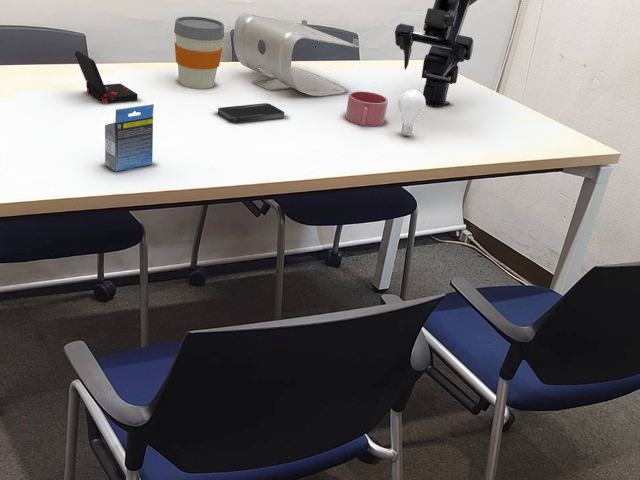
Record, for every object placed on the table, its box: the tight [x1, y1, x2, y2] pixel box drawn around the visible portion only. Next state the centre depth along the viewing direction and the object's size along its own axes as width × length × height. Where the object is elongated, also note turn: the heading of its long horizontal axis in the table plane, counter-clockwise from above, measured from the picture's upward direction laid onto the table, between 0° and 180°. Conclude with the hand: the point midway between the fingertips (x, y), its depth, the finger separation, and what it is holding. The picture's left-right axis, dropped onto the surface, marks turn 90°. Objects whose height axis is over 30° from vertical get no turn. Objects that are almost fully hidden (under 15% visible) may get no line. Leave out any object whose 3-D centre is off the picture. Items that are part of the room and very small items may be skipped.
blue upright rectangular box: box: [104, 103, 155, 173], centre depth 171 cm, size 9×4×12 cm, turn 133°
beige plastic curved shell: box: [233, 13, 360, 97], centre depth 233 cm, size 26×24×16 cm
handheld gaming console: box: [74, 50, 138, 104], centre depth 206 cm, size 9×12×10 cm
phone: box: [217, 102, 285, 124], centre depth 209 cm, size 8×1×15 cm
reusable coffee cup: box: [173, 16, 225, 90], centre depth 222 cm, size 13×12×15 cm
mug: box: [345, 90, 389, 127], centre depth 215 cm, size 13×10×6 cm
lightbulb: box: [398, 88, 427, 137], centre depth 208 cm, size 6×6×11 cm
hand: (423, 72), depth 210 cm, fingers open, 9 cm apart
